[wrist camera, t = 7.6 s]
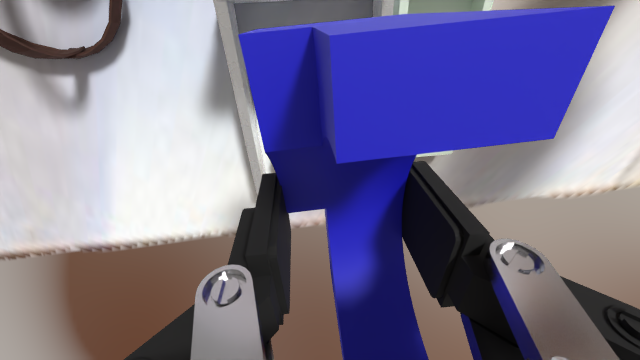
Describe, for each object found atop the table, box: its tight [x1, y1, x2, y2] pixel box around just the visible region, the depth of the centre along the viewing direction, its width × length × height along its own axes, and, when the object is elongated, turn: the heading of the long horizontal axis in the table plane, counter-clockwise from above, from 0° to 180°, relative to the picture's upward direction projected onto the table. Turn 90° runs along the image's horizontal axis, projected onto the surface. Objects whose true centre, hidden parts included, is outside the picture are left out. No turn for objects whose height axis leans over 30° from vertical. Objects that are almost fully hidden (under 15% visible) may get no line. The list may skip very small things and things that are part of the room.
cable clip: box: [238, 6, 615, 360], centre depth 8 cm, size 12×4×6 cm, turn 5°
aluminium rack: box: [213, 0, 394, 195], centre depth 24 cm, size 15×21×10 cm
